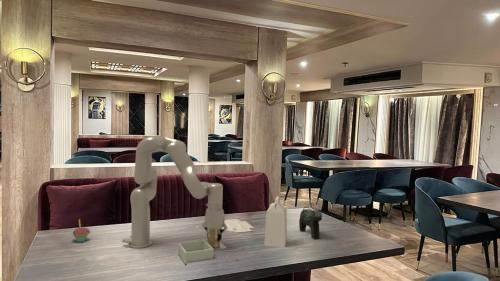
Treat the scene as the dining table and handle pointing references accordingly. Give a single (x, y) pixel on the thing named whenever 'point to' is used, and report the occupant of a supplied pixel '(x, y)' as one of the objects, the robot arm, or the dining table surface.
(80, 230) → the cupcake
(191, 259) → the bin
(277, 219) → the milk
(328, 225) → the dining table surface
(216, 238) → the strut
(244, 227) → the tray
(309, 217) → the dark grey animal figurine
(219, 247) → the stud plate
